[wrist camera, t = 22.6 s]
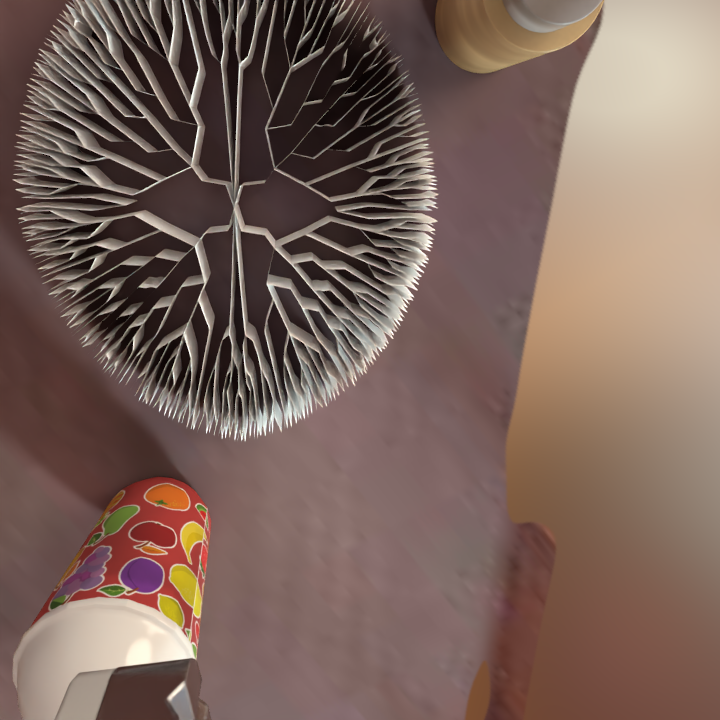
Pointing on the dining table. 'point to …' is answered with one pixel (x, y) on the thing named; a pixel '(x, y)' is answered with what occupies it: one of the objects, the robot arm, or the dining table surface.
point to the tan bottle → (509, 29)
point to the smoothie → (120, 595)
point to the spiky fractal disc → (395, 289)
